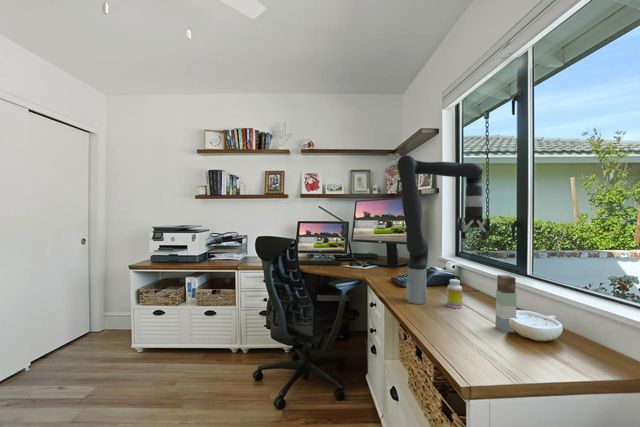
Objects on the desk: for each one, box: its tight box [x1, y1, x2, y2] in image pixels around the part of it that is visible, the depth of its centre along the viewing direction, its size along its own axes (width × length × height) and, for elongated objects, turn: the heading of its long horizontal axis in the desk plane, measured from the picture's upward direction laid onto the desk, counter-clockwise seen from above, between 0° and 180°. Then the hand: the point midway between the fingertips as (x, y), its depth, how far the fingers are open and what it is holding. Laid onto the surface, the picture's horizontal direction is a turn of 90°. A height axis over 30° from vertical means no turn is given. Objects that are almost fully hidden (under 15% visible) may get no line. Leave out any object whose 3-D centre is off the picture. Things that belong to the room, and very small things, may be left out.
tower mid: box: [495, 301, 517, 320], centre depth 115 cm, size 5×5×5 cm
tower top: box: [495, 289, 517, 308], centre depth 115 cm, size 5×5×5 cm
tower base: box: [495, 314, 515, 333], centre depth 115 cm, size 5×5×5 cm
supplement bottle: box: [446, 278, 463, 309], centre depth 142 cm, size 7×7×13 cm
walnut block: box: [496, 274, 517, 293], centre depth 115 cm, size 4×4×6 cm
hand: (473, 239), depth 139 cm, fingers open, 8 cm apart
